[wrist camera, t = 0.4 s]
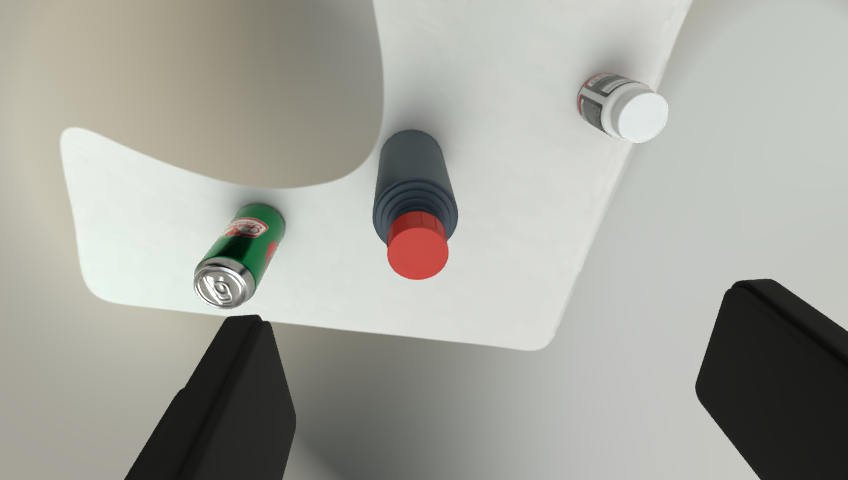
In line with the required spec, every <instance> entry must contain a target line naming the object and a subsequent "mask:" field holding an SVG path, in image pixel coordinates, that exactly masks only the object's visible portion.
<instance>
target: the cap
mask: <svg viewBox="0 0 848 480" xmlns="http://www.w3.org/2000/svg"><path fill="white" fill-rule="evenodd" d="M387 247H388V252H387V256H388V261H389V263H390V265H391V267H392V268H393V270H394V271H395V272H396V273H398V274H399V275H401V276H403V277H405V278H408V279H413V280H421V279H426V278H429V277H432V276H434V275H436V274H437V273H438V272H440V271H441V270H442V268H443V267H444V266H445V264H446V262H447V259H448V246H447V238H446V233H445V228H444V227H443V225H442V224H441V222H440V221H439V220H438V219H437V218H436V217H434V216H433V215H431V214H429V213H426V212H422V211H421V212H420V211H415V212H409V213H405V214H404V215H402V216H400V217H399V218H397V219H396V220H395V221H393V224H392V225H391V227H390V230H389V234H388V235H387Z"/></svg>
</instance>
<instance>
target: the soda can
mask: <svg viewBox="0 0 848 480" xmlns="http://www.w3.org/2000/svg"><path fill="white" fill-rule="evenodd" d="M284 231H285V226H284V222H283V220H282V218H281V216H280V215H279V214H278V213H277V212H276V211H275V210H273V209H272V208H270V207H268V206H265V205H261V204H252V205H248V206H245V207H244V208H242V209H241V210H240V211H239V212H238V214H237V215H236V216H235V218H234V219H233V220H232V221H231V223H230V224H229V225H228V227H227V228H226V229H225V231H224V232H223V233H222V234H221V236H220V237H219V238H218V240H217V241H216V242H215V244H214V245H213V246H212V247H211V249H210V250H209V251H208V253H207V254H206V255H205V256H204V258H203V259H202V260H201V262H200V263H199V264H198V266H197V267H196V269H195V273H194V278H195V279H194V289H195V292H196V293H197V295H198V296H199V298H200V299H201V300H202V301H204V302H205V303H207V304H208V305H210V306H213V307H215V308H220V309H232V308H235V307H238V306H240V305H241V304H242V303H244V302H246V301H247V300H249V299H250V298H251V297H252V296H253V294H254V293H255V291H256V289H257V287H258V285H259V283H260V281H261V279H262V277H263V275H264V273H265V271H266V269H267V267H268V265H269V263H270V261H271V259H272V257H273V255H274V253H275V251H276V249H277V247H278V245H279V243H280V241H281V239H282V237H283V235H284Z"/></svg>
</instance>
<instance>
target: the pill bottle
mask: <svg viewBox="0 0 848 480" xmlns="http://www.w3.org/2000/svg"><path fill="white" fill-rule="evenodd" d="M577 106H578V111H579V113H580V115H581V116H582V118H583V119H584V120H586V121H587V122H588V123H590V124H592V125H593V126H595V127H596V128H598V129H600V130H601V131H603V132H605V133H606V134H608V135H609V136H611V137H613V138H616V139H620V140H627V141H629V142H633V143H640V142H645V141H647V140H650V139H652V138H653V137H655V136H656V135H657V134H658V133H659V132H660V131H661V130H662V128H663V127H664V125H665V123H666V121H667V118H668V105H667V102H666V101H665V99H664V98H663V97H662V96H660V95H659V94H657V93H655V92H654V91H653V90H652V89H651V88H650V87H649V86H647V85H645V84H643V83H640V82H637V81H634V80H630V79H627V78H624V77H621V76H618V75H615V74H611V73H603V74H599V75H596V76H594V77H593V78H591V79H590V80H589V81H588V82H587V83H586V84H585V85H584V86H583V88H582V89H581V91H580V93H579V96H578V101H577Z"/></svg>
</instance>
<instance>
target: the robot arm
mask: <svg viewBox="0 0 848 480" xmlns="http://www.w3.org/2000/svg"><path fill="white" fill-rule="evenodd" d="M695 389H696V394H697V397H698V399H699V401H700V402H701V404H702V405H703V406H704V408H705V409H706V410H707V411H708V413H709V414H710V415H711V417H712V418H713V419H714V420H715V422H716V423H717V424H718V426H719V427H720V428H721V429H722V431H723V432H724V433H725V435H726V436H727V437H728V438H729V440H730V441H731V442H732V443H733V445H734V446H735V447H736V449H737V450H738V451H739V453H740V454H741V455H742V456H743V458H744V459H745V460H746V461H747V463H748V464H749V465H750V467H751V468H752V469H753V471H754V472H755V473H756V474H757V476H758V477H759V478H760V479H761V480H848V331H846V330H845V329H844V328H842V327H841V326H839V325H838V324H836V323H835V322H833V321H832V320H831V319H829V318H828V317H826V316H825V315H823V314H822V313H821V312H819V311H818V310H816V309H815V308H814V307H812V306H811V305H809V304H808V303H806V302H805V301H803V300H802V299H800V298H799V297H798V296H796V295H795V294H793V293H792V292H791V291H789V290H788V289H786V288H785V287H783V286H782V285H781V284H779V283H778V282H776V281H774V280H772V279H757V280H742V281H738V282H736V283H735V284H733V286H732V287H731V289H728V290H727V291H726V293H725V295H724V298H723V300H722V304H721V307H720V310H719V313H718V316H717V319H716V322H715V325H714V328H713V332H712V334H711V338H710V341H709V344H708V347H707V350H706V353H705V356H704V359H703V362H702V365H701V368H700V372H699V375H698V378H697V381H696V385H695ZM295 428H296V414H295V410H294V406H293V403H292V399H291V396H290V392H289V388H288V385H287V381H286V377H285V374H284V370H283V366H282V363H281V359H280V356H279V352H278V348H277V345H276V341H275V337H274V334H273V330H272V327H271V324H270V323H269V322H268V321H262V319H261V317H260V316H259V315H243V316H230V317H227V318H226V319H225V321H224V322H223V324H222V326H221V327H220V329H219V331H218V332H217V334H216V336H215V338H214V339H213V341H212V342H211V344H210V346H209V347H208V349H207V351H206V352H205V354H204V356H203V357H202V359H201V361H200V362H199V364H198V366H197V367H196V369H195V371H194V372H193V374H192V376H191V377H190V379H189V381H188V383H187V384H186V386H185V387H184V388H183V389H181V390H180V391H179V392H178V393H177V395H176V396H175V397H174V399H173V400H172V402H171V404H170V405H169V407H168V408H167V410H166V412H165V413H164V415H163V417H162V418H161V420H160V422H159V423H158V425H157V426H156V428H155V430H154V431H153V433H152V435H151V436H150V438H149V440H148V441H147V443H146V445H145V446H144V448H143V450H142V451H141V453H140V454H139V456H138V458H137V459H136V461H135V463H134V464H133V466H132V468H131V469H130V471H129V472H128V474H127V476H126V477H125V479H124V480H282V479H283V475H284V471H285V467H286V463H287V460H288V456H289V452H290V448H291V444H292V441H293V437H294V433H295Z"/></svg>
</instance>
